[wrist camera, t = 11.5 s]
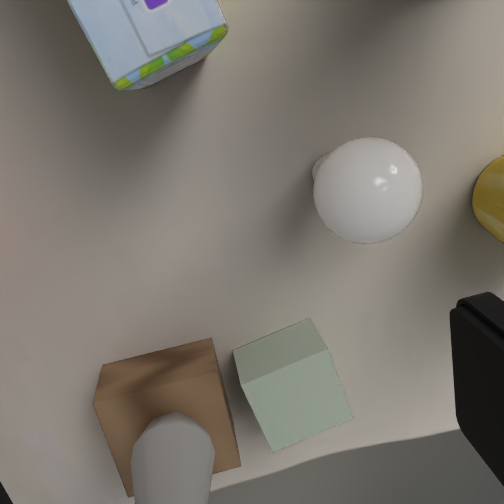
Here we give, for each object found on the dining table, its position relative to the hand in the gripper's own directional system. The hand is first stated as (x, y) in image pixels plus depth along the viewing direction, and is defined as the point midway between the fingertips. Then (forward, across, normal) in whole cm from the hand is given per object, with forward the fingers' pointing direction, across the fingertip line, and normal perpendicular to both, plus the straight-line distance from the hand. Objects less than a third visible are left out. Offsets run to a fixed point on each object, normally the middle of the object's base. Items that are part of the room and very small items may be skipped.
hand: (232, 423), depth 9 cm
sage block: (+26, -3, +18) cm, 32 cm away
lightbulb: (+27, -9, +3) cm, 29 cm away
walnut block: (+26, +7, +18) cm, 32 cm away
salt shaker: (+21, +7, +18) cm, 28 cm away
